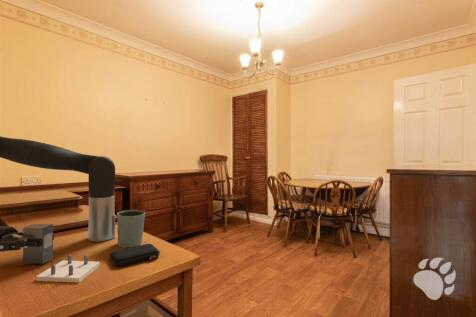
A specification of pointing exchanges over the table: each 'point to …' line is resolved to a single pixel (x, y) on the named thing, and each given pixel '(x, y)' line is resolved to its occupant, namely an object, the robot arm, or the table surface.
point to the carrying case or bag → (133, 255)
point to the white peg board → (69, 270)
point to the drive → (43, 252)
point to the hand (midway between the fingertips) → (47, 240)
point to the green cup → (130, 227)
